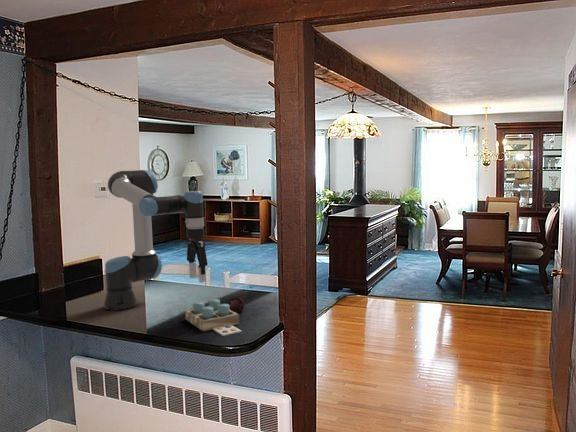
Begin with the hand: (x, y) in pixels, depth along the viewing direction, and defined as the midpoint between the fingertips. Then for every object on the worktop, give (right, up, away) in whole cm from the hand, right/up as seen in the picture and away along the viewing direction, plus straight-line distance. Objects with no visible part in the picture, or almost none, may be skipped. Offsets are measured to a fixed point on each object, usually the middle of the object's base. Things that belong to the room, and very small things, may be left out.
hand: (197, 279), depth 219 cm
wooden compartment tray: (+6, -18, -1) cm, 19 cm away
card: (+14, -19, -13) cm, 27 cm away
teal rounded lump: (0, -15, +1) cm, 15 cm away
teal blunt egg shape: (+7, -14, +5) cm, 17 cm away
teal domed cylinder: (+5, -16, -7) cm, 18 cm away
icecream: (+15, -16, +13) cm, 26 cm away
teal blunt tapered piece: (+12, -15, -3) cm, 19 cm away
